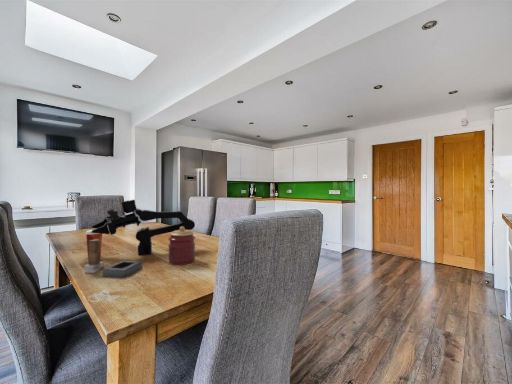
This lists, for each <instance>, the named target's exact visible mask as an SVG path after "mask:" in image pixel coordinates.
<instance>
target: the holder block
mask: <svg viewBox="0 0 512 384" xmlns="http://www.w3.org/2000/svg"><path fill="white" fill-rule="evenodd" d="M141 269H143V261H138V260H120V261H118V262H116V263H113V264H110V265H107V266H106V267H104V268H103V269H101V271H102V273H101V274H102V277H107V278H108V277H109V278H110V277H111V278H126V277H129V276H130V275H132V274H133V273H136V272H138V271H139V270H141Z"/></svg>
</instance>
